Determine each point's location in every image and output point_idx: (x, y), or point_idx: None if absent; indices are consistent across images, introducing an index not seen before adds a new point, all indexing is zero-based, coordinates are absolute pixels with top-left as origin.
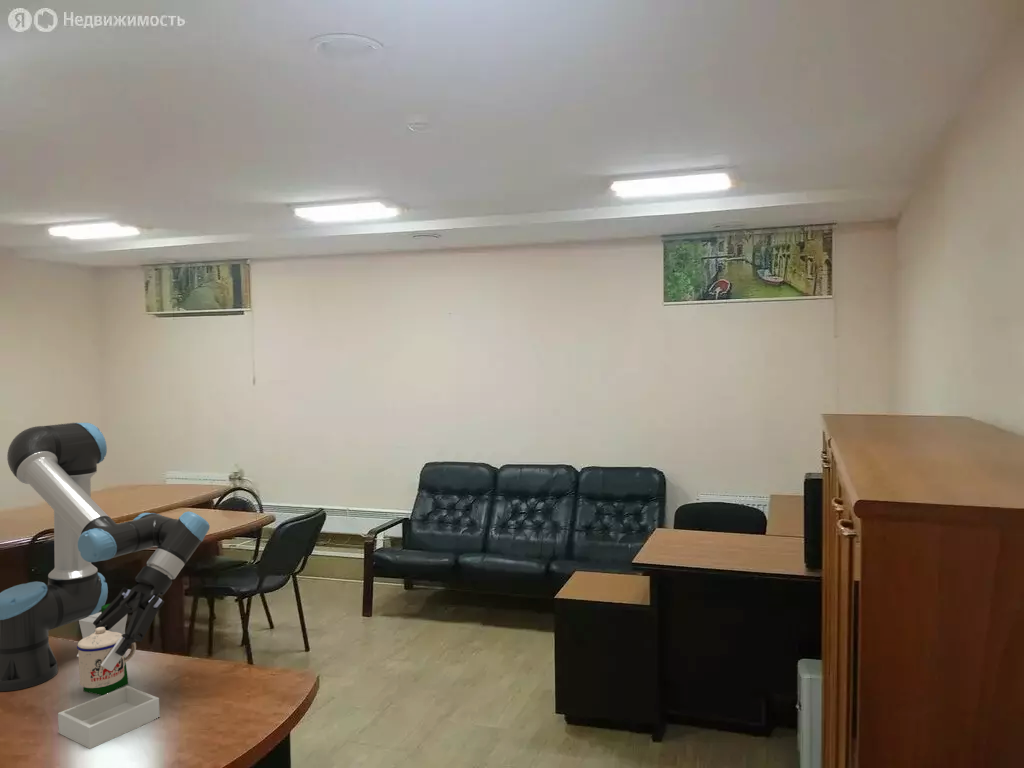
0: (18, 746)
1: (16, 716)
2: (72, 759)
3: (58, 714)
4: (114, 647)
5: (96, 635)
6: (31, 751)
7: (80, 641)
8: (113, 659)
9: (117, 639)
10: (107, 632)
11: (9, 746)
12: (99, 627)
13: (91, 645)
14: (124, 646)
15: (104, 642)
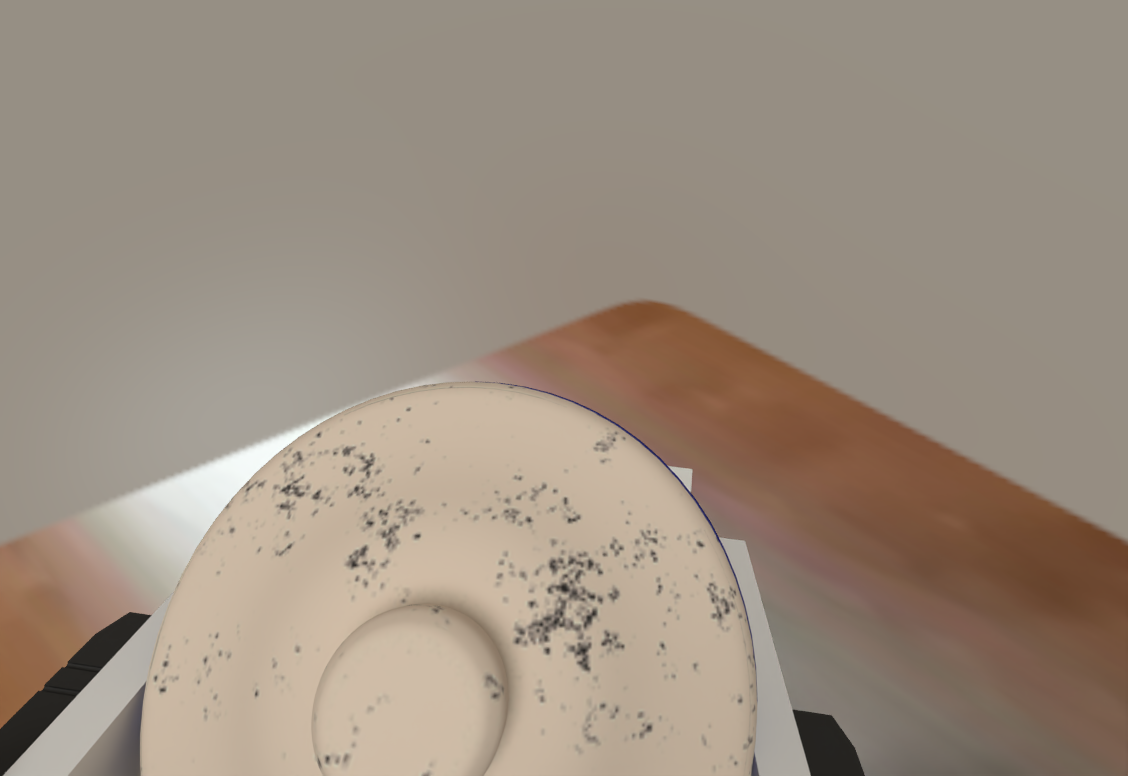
0: (713, 357)
1: (1005, 508)
2: (429, 377)
3: (688, 470)
4: (157, 634)
5: (387, 569)
6: (630, 354)
7: (627, 465)
8: None
9: (146, 765)
10: (313, 771)
11: (745, 344)
12: (447, 735)
13: (345, 427)
14: (33, 719)
15: (225, 559)
